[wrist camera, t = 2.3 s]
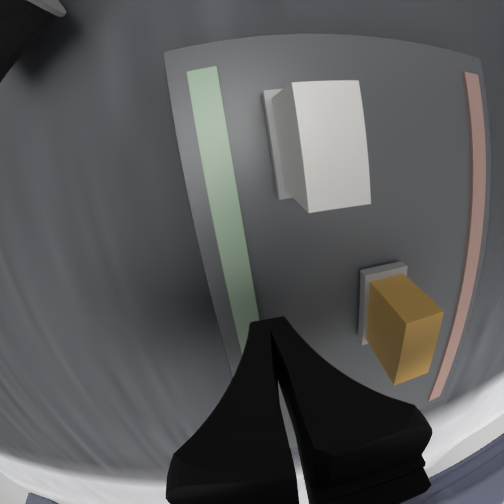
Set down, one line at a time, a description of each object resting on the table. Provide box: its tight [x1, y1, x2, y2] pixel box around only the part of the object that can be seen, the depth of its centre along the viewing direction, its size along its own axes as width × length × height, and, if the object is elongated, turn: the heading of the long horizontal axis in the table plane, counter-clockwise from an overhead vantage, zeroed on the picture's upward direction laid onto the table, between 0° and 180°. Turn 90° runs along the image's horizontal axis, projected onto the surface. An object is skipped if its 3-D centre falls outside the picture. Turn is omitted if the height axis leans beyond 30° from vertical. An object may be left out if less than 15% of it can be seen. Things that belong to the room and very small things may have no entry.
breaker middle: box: [358, 261, 444, 385], centre depth 11 cm, size 2×4×4 cm, turn 8°
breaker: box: [262, 80, 371, 213], centre depth 8 cm, size 2×4×4 cm, turn 9°
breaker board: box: [164, 34, 491, 449], centre depth 13 cm, size 14×22×2 cm, turn 8°
